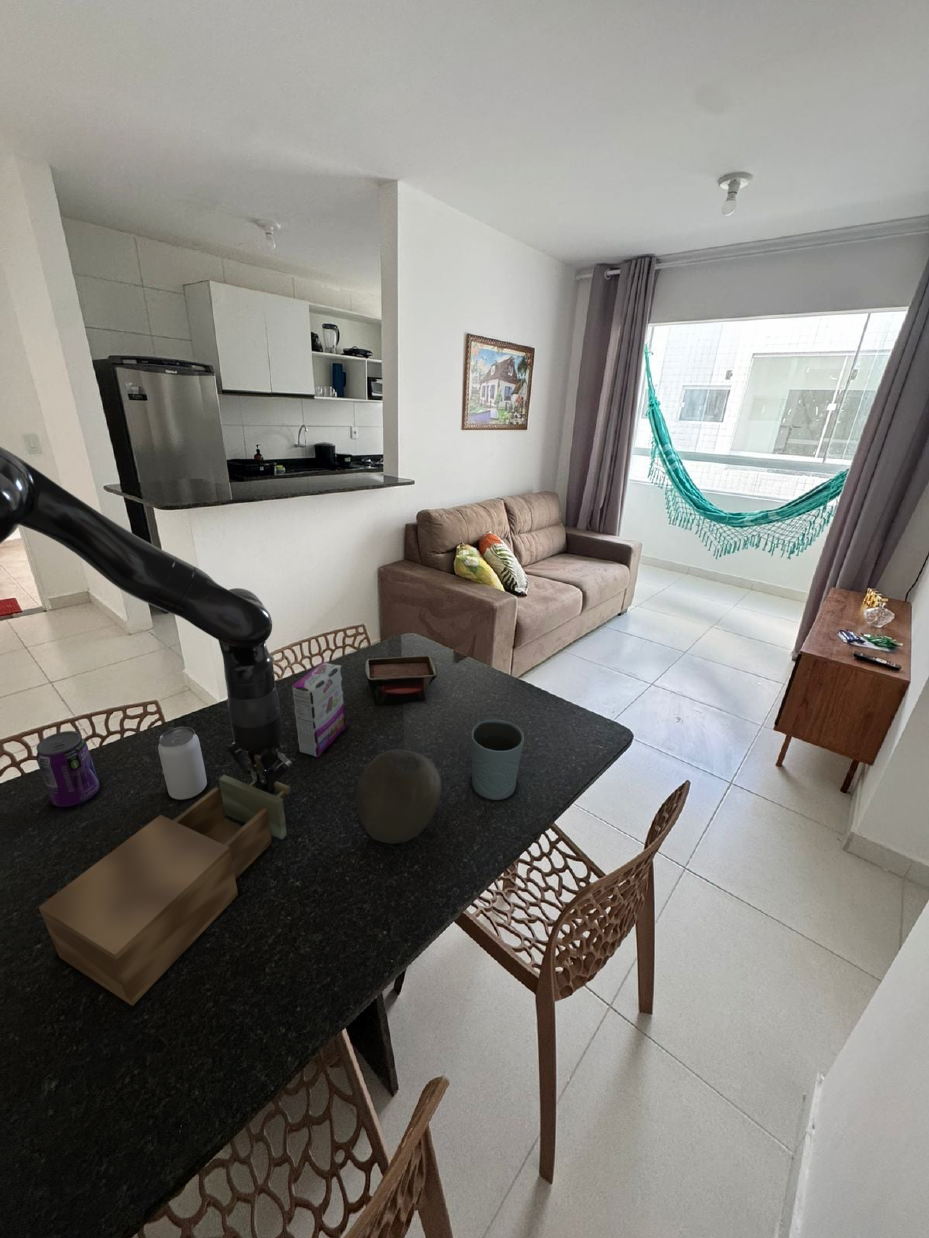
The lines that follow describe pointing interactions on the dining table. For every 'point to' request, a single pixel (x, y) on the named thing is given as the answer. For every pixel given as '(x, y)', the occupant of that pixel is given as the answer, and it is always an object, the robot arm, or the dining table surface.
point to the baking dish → (400, 678)
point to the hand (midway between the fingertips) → (266, 795)
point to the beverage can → (67, 768)
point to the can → (182, 763)
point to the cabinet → (141, 906)
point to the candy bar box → (319, 708)
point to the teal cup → (495, 758)
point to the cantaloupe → (398, 795)
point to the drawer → (245, 806)
